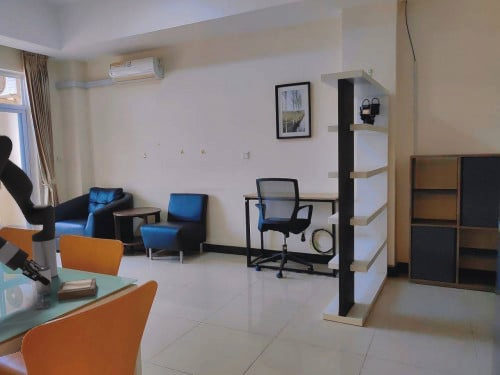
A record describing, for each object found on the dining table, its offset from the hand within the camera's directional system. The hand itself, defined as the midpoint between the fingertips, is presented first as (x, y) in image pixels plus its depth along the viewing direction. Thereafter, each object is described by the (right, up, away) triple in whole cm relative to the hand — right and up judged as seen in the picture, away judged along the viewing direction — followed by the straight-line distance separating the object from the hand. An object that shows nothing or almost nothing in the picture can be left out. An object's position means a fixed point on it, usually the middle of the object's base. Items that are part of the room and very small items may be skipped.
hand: (49, 281), depth 149 cm
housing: (-2, -4, 0) cm, 5 cm away
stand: (+10, -5, +3) cm, 12 cm away
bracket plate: (+3, -7, -10) cm, 13 cm away
